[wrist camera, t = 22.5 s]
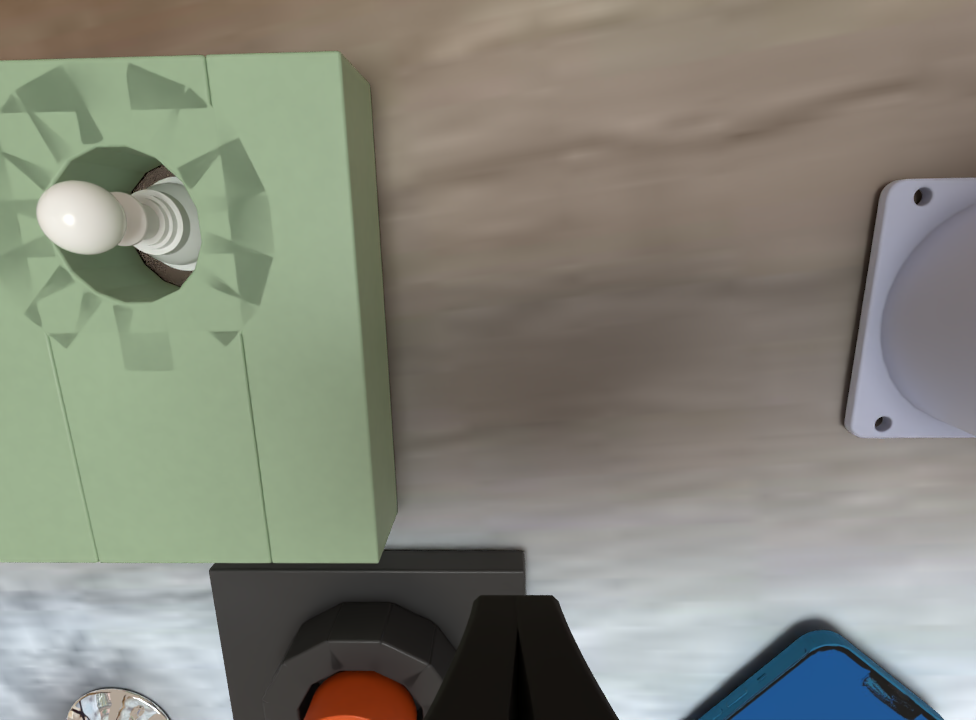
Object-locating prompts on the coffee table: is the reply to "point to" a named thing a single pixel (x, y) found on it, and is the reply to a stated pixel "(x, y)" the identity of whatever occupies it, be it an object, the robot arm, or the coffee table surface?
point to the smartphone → (821, 687)
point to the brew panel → (349, 623)
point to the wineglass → (114, 706)
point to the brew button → (361, 698)
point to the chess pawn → (123, 220)
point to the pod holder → (196, 318)
